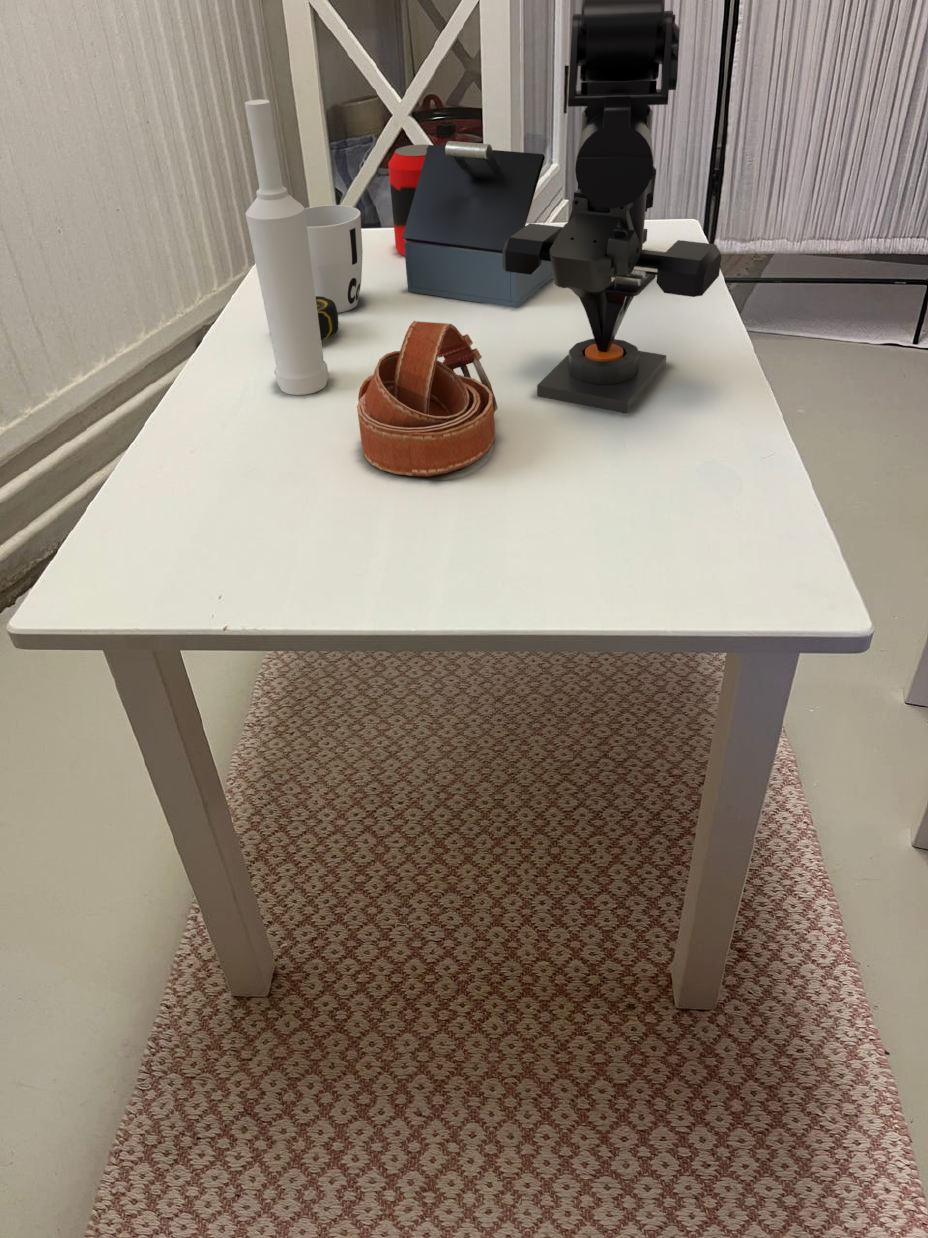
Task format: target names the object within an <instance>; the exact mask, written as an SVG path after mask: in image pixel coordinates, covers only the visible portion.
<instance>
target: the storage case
mask: <svg viewBox="0 0 928 1238" xmlns="http://www.w3.org/2000/svg"><path fill="white" fill-rule="evenodd" d="M404 250H405V256H404V261H405V273H406V285H407V292H409V293H415V294H422V295H428V296H434V297H441V298H446V299H447V298H448V299H455V300H460V301H468V302H473V303H481V304H490V305H495V306H496V305H497V306H501V307H509V308H515V309H517V308H518V307H519V306H520V305H522V304H523V303H524V302H525V301H527V300H528V299H529V298H530V297H532V296H533V295H534V294H535V293H537V292H538V291H539V290H540V289H542V288H543V287H545V285H546V284H548V283H549V282H550V281H551V280H553V272H552V265H551V261H544V260H542V265H541V266H540V267H539V268H538V269H537V270H536V271H535V272H534V273H533V274H531V275H529V274H522V273H514V272H507V271H505V270H504V269H503V253H499V252H491V251H483V250H476V249H468V248H460V247H452V246H444V245H437V244H429V243H421V242H413V241H406V242H405V243H404Z"/></svg>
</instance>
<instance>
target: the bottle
mask: <svg viewBox="0 0 928 1238" xmlns="http://www.w3.org/2000/svg"><path fill="white" fill-rule="evenodd" d="M244 108H245V114H246V120H247V124H248V126H247V127H248V129H249V132H250V139H251V144H252V150H253V151H252V152H253V156H254V162H255V168H256V174H257V180H258V185H259V187H258V189H257V190H256V198H255V199H254V201H253V202H252V203H251V205H250V206H249V207H248V209H247V210H246V212H245V218H246V225H247V228H248V233H249V238H250V243H251V248H252V252H253V257H254V263H255V268H256V272H257V277H258V283H259V286H260V292H261V297H262V302H263V307H264V312H265V316H266V323H267V327H268V332H269V336H270V341H271V346H272V350H273V355H274V361H275V365H276V366H275V369H274V376H275V380H276V382H277V385H278V387H279V389H280V390H281V392H283V393H285V394H288V395H291V396H292V395H293V396H305V395H310V394H314V393H317V392H319V391H322V390H323V389H324V388H326V386H327V383H328V379H329V368H328V364H327V362H326V361H325V360H324V351H323V345H322V341H321V336H320V328H319V320H318V312H317V304H316V296H315V288H314V280H313V272H312V264H311V256H310V249H309V241H308V233H307V225H306V217H305V206H303V205H302V203H300V202H299V201H298V200H296V199H295V198H294V197H292V196H291V195H290V194H289V193H288V188H287V187H285V186H284V185H283V180H282V175H281V169H280V161H279V156H278V150H277V145H276V143H277V142H276V136H275V130H274V120H273V114H272V107H271V101H270V100H268V99H253V100H252V99H251V100H247V101H245V102H244Z"/></svg>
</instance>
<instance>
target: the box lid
mask: <svg viewBox="0 0 928 1238" xmlns="http://www.w3.org/2000/svg"><path fill="white" fill-rule="evenodd" d="M427 145H428V149H427V152H426V156H425V159H424V163H423V166H422V170H421V173H420V177H419V180H418V184H417V187H416V191H415V194H414V198H413V201H412V205H411V209H410V212H409V216H408V219H407V223H406V226H405V230H404V233H403V237H402V238H403V239H404V240H406V241H413V242H421V243H429V244H437V245H444V246H452V247H460V248H468V249H476V250H483V251H491V252H499V253H503V248H504V245H505V242H506V241H507V240H508V239H509V237H511V236H512V235H514V234H515V233H517V232H518V231H519V230H521V229H522V228H524V227H525V226H527V221H528V218H529V215H530V211H531V207H532V203H533V200H534V197H535V195H536V190H537V186H538V183H539V180H540V176H541V173H542V169H543V166H544V163H545V158H546V156H545V154H543V153H534V152H524V151H523V152H522V151H510V150H499V149H498V150H497V149H493V147H492V145H491V144H490V143H481V142H480V143H478V142H467V141H466V142H465V141H453V140H448V141H447V142H446V144H445V145H437V144H436V145H435V144H427Z"/></svg>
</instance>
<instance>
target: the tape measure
mask: <svg viewBox="0 0 928 1238" xmlns="http://www.w3.org/2000/svg"><path fill="white" fill-rule="evenodd" d="M316 304H317V312H318V320H319V328H320V336H321V342H322V341H324V340H327V339H329V338H331V337H333V336H334V335H335V334H336V333H338V331H339V326H340V325H339V324H340V323H339V322H340V321H339V313H337V308H336V305H335V303H334V302H333V301H332V300H330V299H327V298H325V297H320V296H316Z"/></svg>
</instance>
